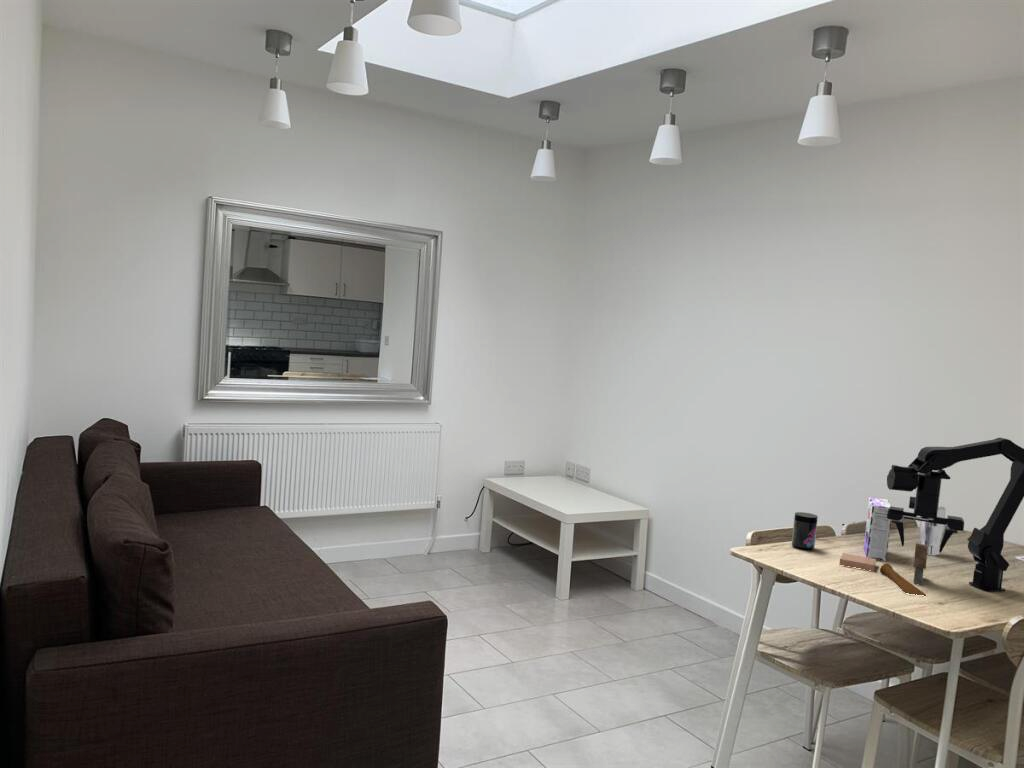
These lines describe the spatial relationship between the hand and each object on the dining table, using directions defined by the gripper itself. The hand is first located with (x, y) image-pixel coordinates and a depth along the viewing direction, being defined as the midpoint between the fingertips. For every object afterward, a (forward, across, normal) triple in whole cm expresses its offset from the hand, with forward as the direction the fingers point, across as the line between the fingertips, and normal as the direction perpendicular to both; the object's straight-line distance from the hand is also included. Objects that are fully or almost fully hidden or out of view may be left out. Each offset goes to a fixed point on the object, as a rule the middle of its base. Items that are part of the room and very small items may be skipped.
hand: (921, 549), depth 223 cm
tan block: (+8, +11, -4) cm, 14 cm away
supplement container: (+9, +32, -14) cm, 36 cm away
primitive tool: (+10, +4, +8) cm, 13 cm away
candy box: (+9, +12, -22) cm, 27 cm away
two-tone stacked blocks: (+9, 0, 0) cm, 9 cm away
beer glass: (+9, -3, -37) cm, 39 cm away
